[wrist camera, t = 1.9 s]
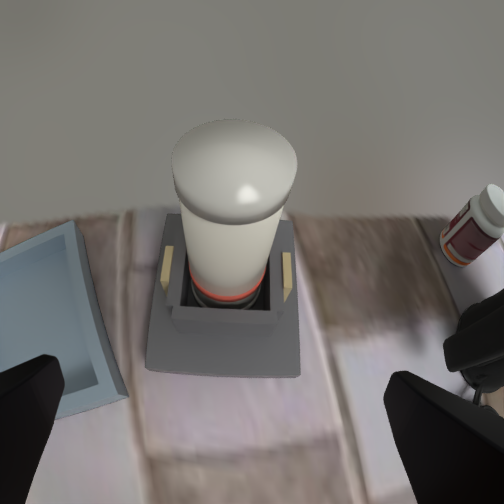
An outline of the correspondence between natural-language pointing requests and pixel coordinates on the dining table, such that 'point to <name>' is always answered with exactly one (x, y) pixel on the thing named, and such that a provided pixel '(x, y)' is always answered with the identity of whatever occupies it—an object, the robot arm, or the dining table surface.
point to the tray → (57, 317)
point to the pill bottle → (474, 227)
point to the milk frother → (479, 347)
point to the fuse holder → (224, 317)
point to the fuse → (231, 206)
